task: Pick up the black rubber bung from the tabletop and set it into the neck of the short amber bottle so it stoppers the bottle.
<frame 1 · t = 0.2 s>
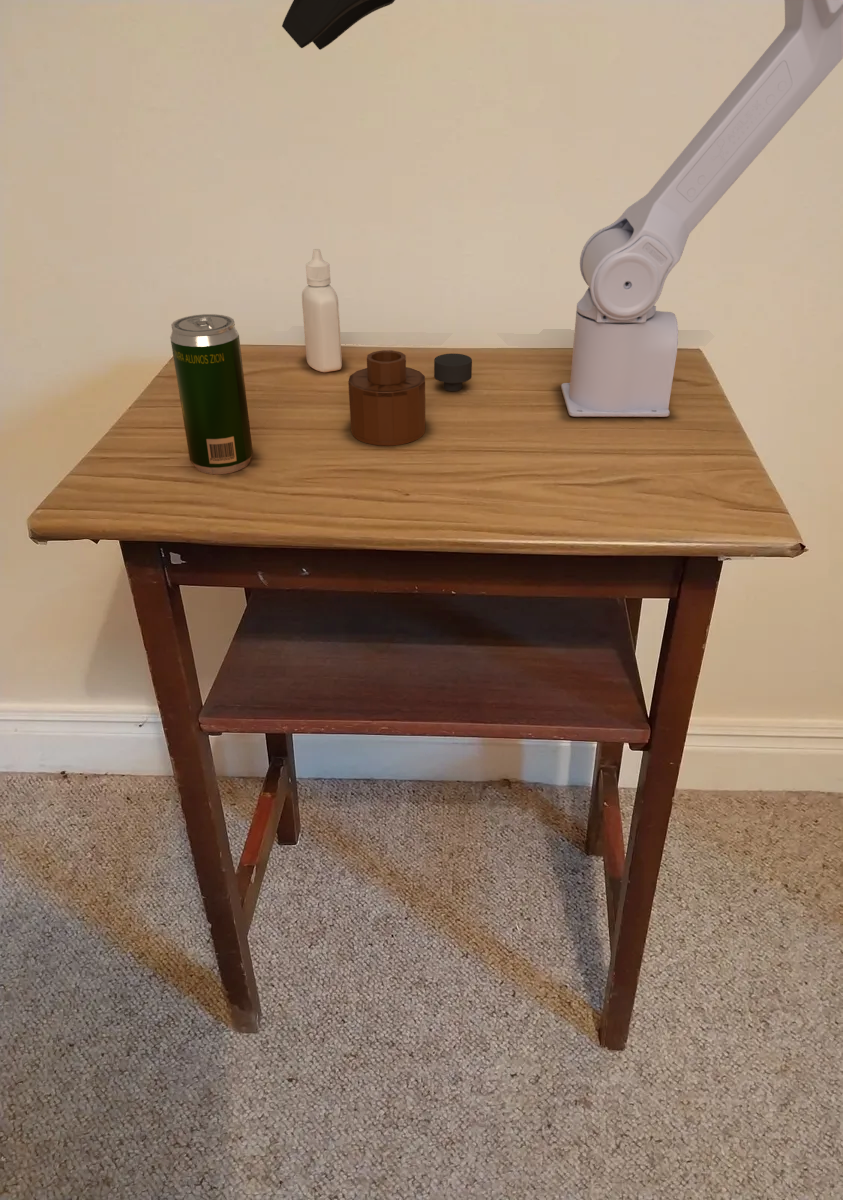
hand: (302, 38, 73), 31 cm above the table, tool tilted 45°, fingers open, 7 cm apart
amber bottle: (388, 430, 84), on the table
eye dropper bottle: (324, 366, 99), on the table
beer can: (222, 464, 78), on the table
bung: (452, 388, 93), on the table
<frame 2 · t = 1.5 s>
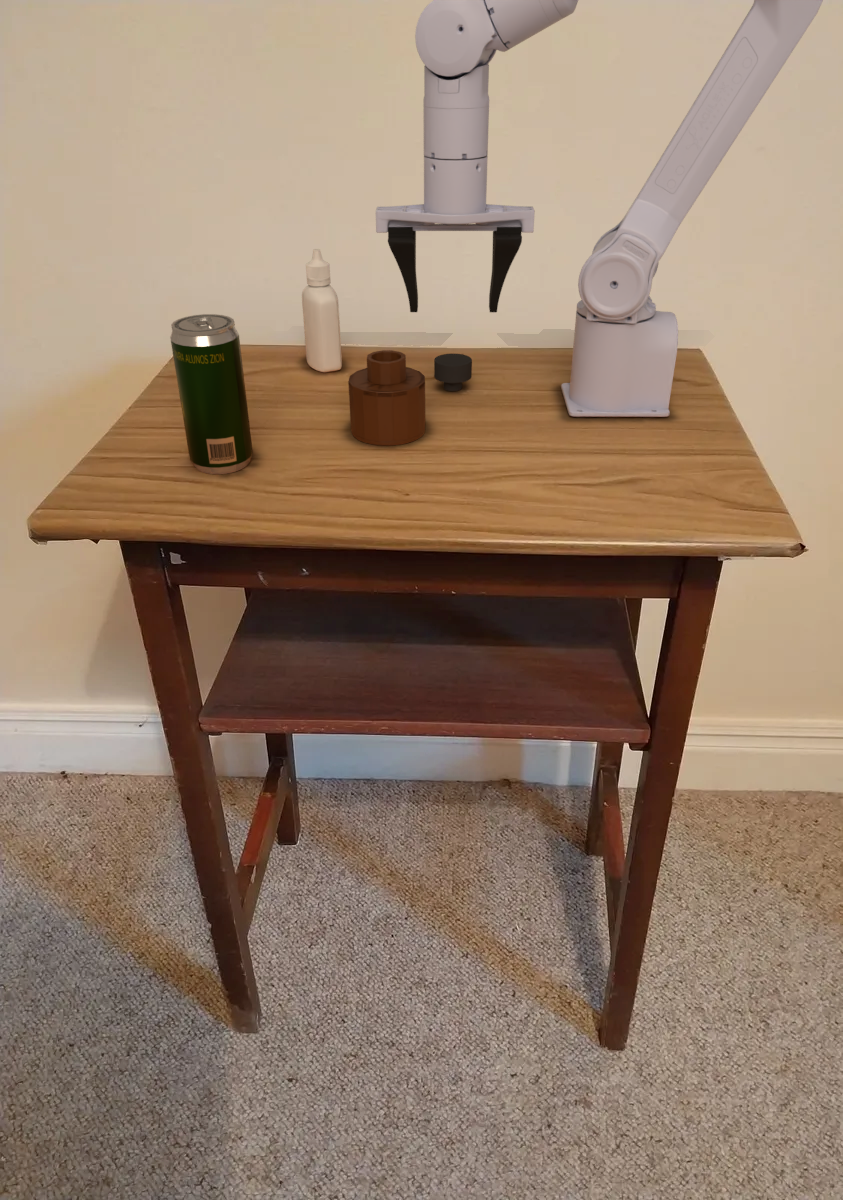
hand: (453, 309, 88), 8 cm above the table, tool pointing down, fingers open, 7 cm apart
nothing on the table moved.
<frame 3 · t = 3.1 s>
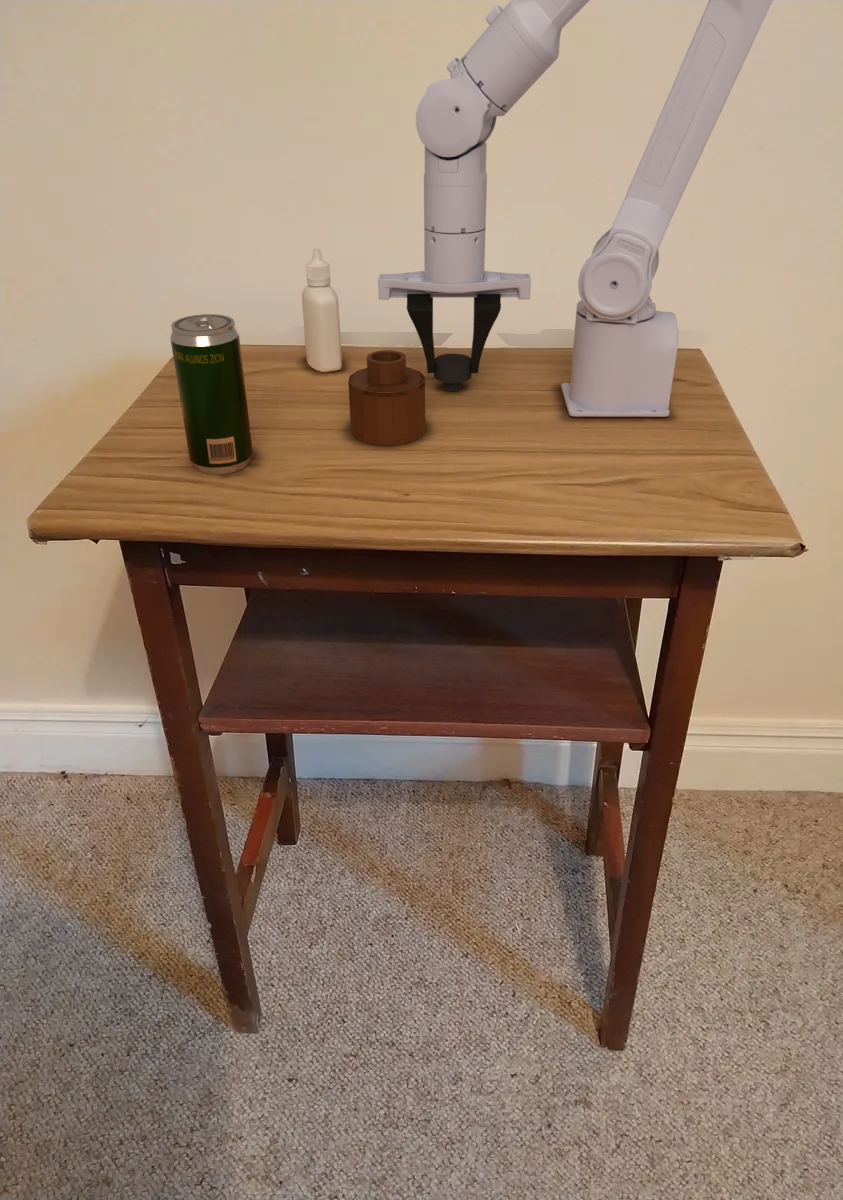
hand: (453, 370, 92), 2 cm above the table, tool pointing down, fingers closed on bung, 4 cm apart
bung: (452, 388, 93), on the table, touching gripper
everything else where it was.
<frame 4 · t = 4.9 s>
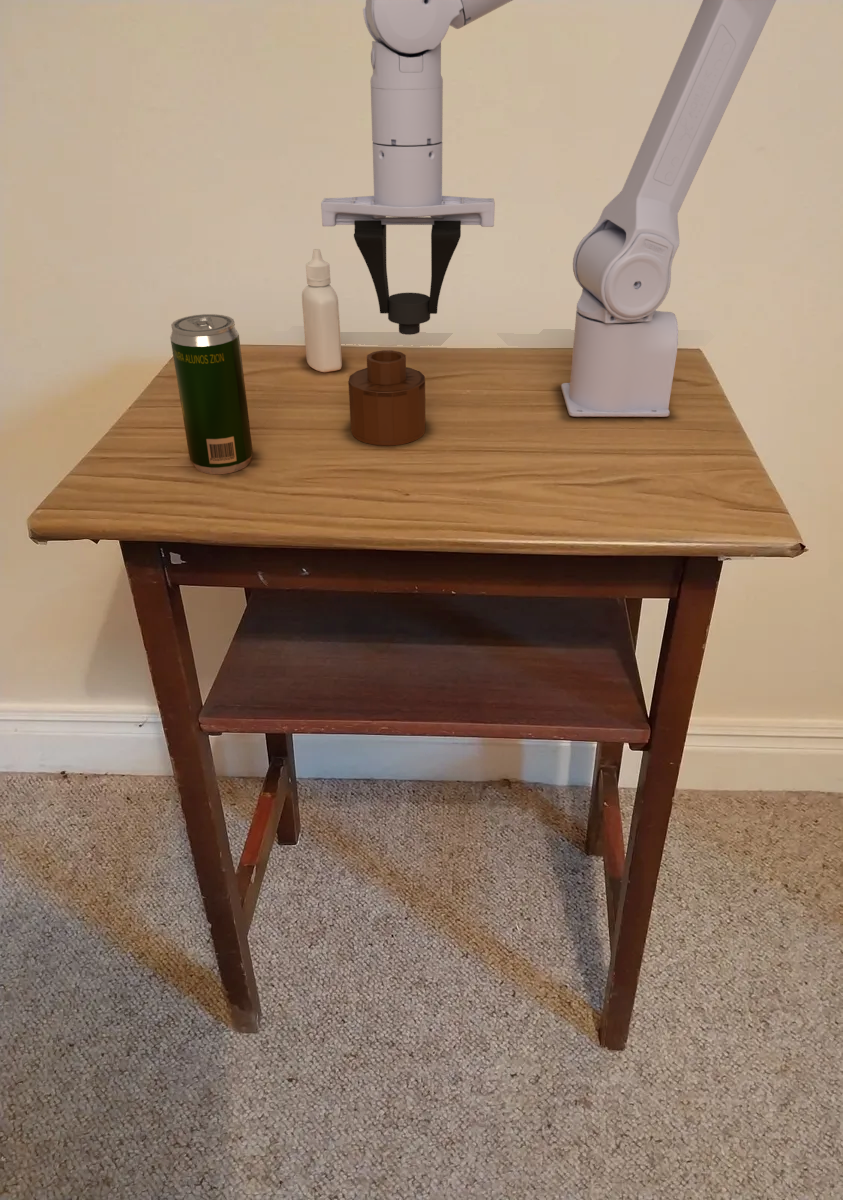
hand: (409, 310, 81), 10 cm above the table, tool pointing down, fingers closed on bung, 4 cm apart
bung: (409, 331, 82), point 8 cm above the table, touching gripper
everything else where it was.
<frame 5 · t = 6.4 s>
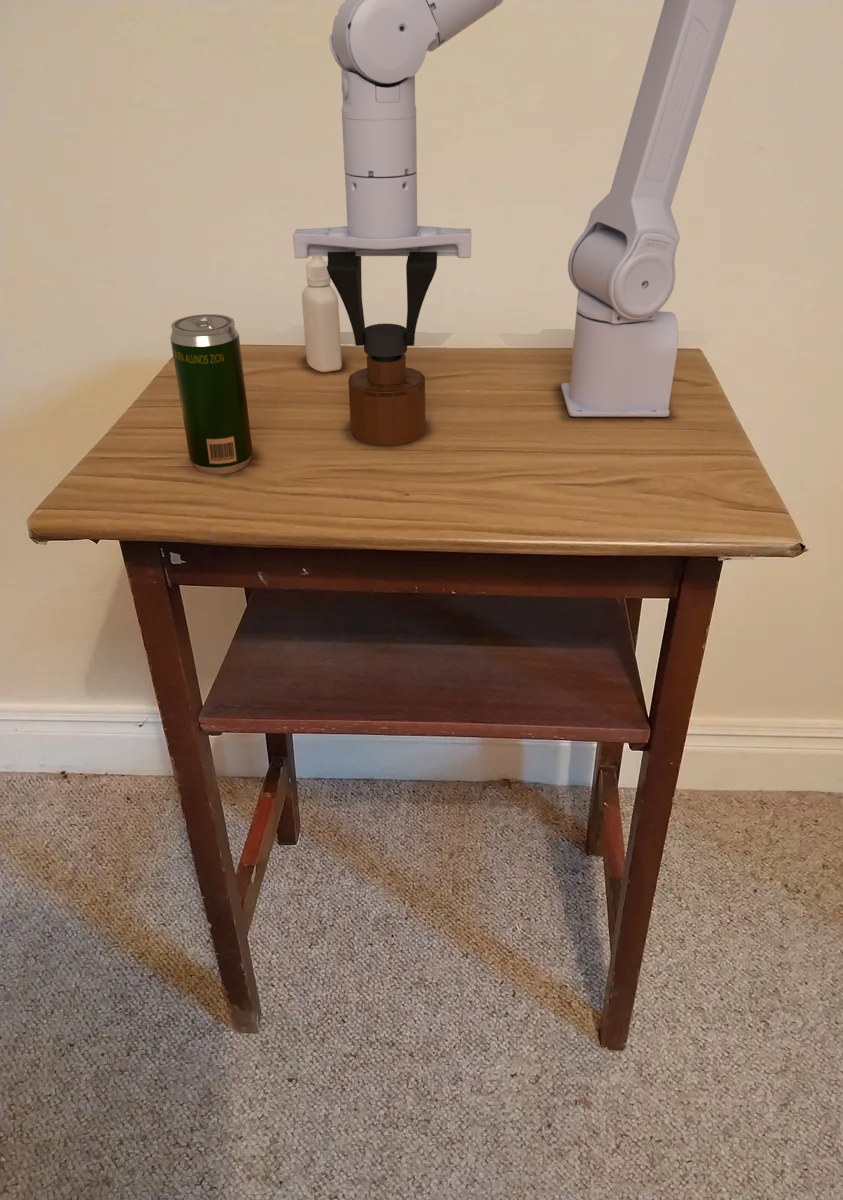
hand: (385, 342, 79), 8 cm above the table, tool pointing down, fingers closed on bung, 4 cm apart
bung: (385, 363, 80), point 6 cm above the table, touching gripper
everything else where it was.
when the fingers open (8 cm above the table, at t = 6.9 s): bung stays where it is, resting on amber bottle.
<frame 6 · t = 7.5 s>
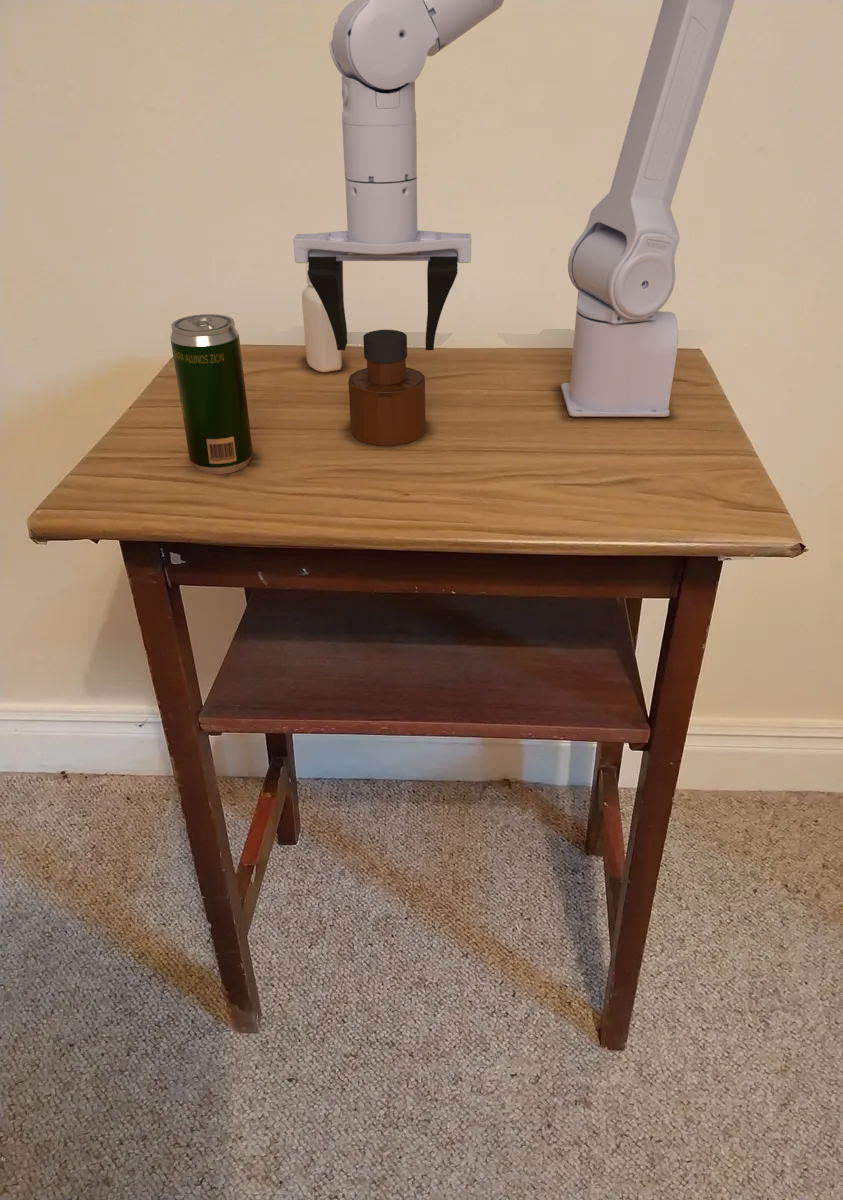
hand: (386, 346, 79), 8 cm above the table, tool pointing down, fingers open, 7 cm apart
amber bottle: (388, 430, 84), on the table, touching bung
bung: (386, 369, 81), point 6 cm above the table, touching amber bottle
everything else where it was.
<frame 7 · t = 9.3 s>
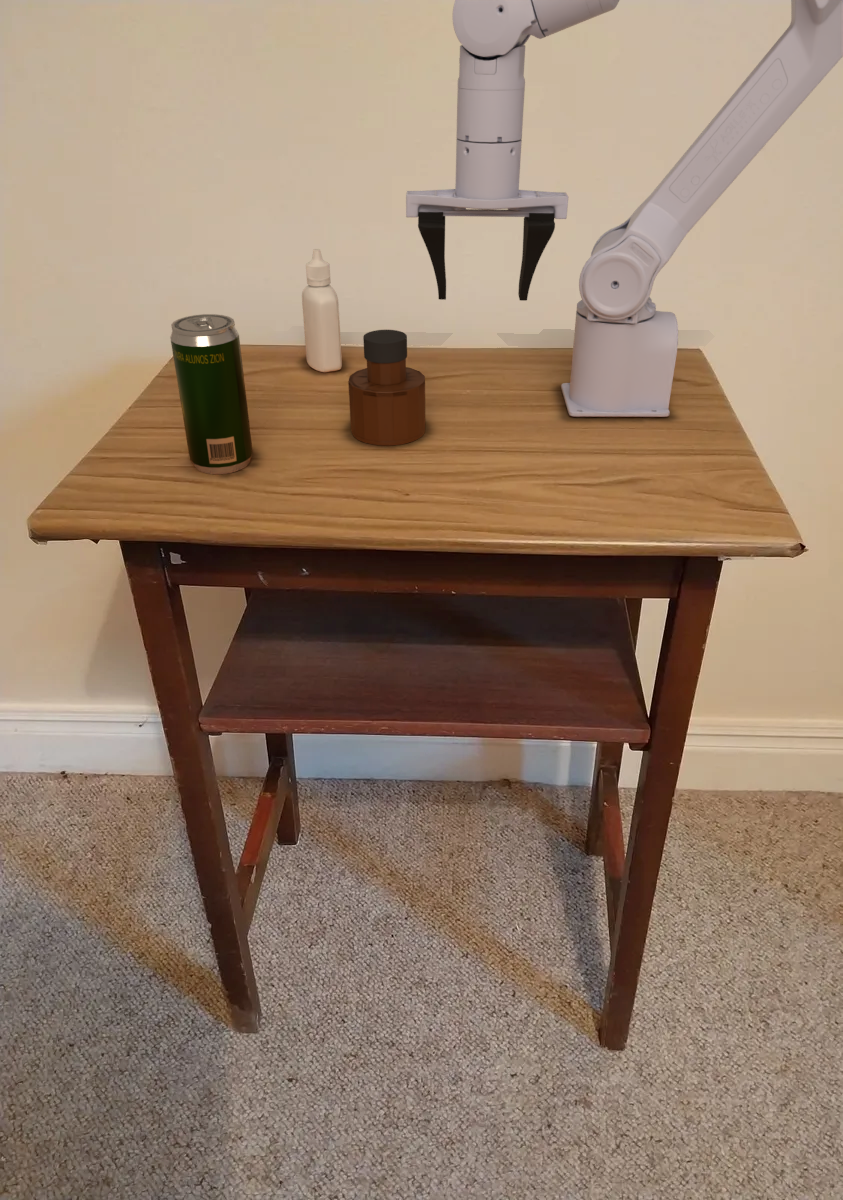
hand: (482, 297, 87), 9 cm above the table, tool pointing down, fingers open, 7 cm apart
nothing on the table moved.
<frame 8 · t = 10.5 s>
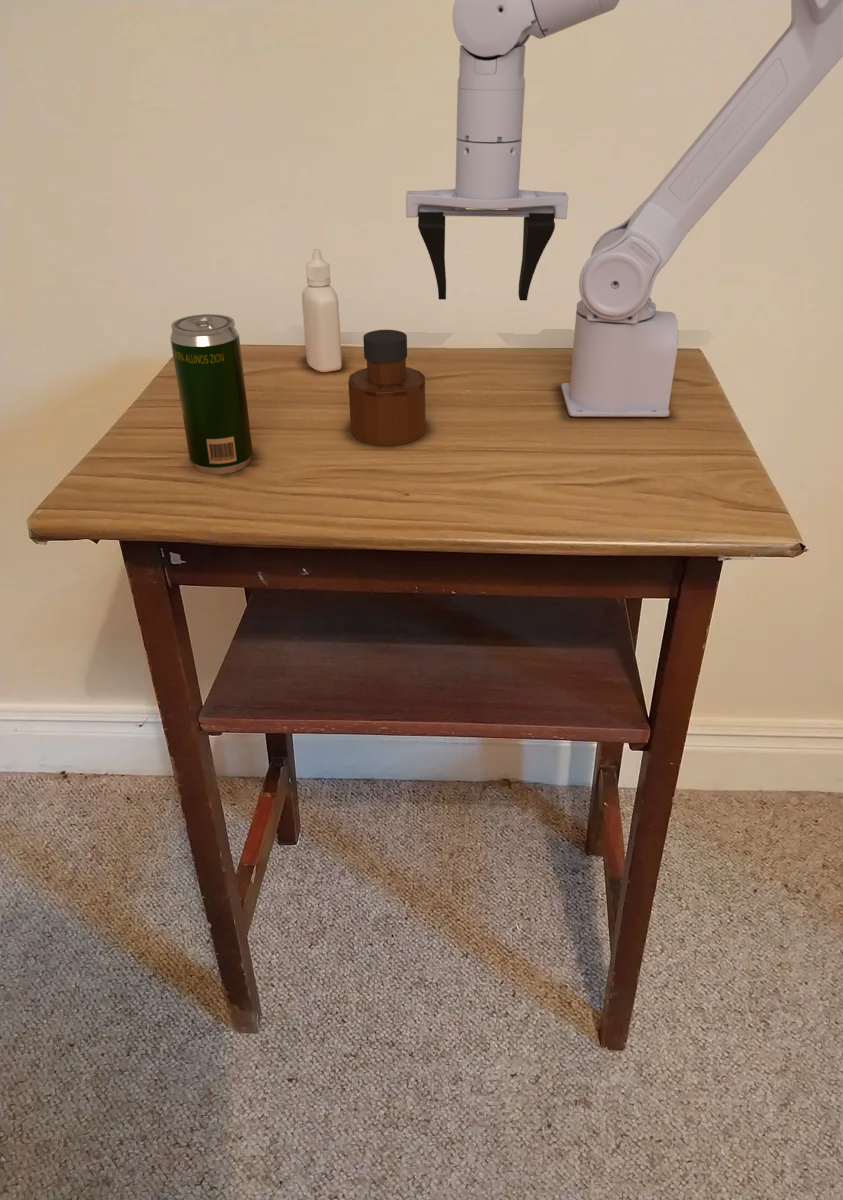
hand: (482, 297, 87), 9 cm above the table, tool pointing down, fingers open, 7 cm apart
nothing on the table moved.
at the end: bung 0.0 cm off-centre in the amber bottle, point 5.8 cm above the amber bottle's base; bung tilted 0°; amber bottle tilted 0° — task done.
